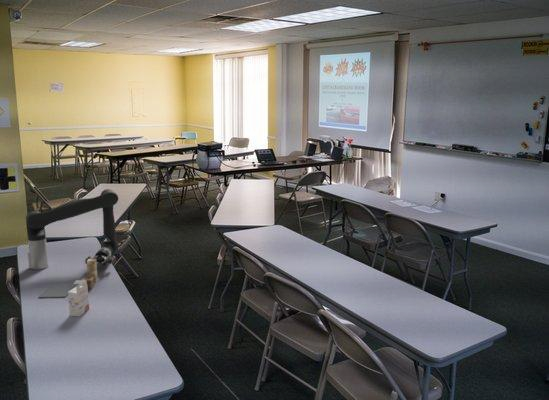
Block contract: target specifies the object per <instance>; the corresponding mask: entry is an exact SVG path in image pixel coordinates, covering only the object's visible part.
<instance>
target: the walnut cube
mask: <svg viewBox="0 0 549 400" xmlns="http://www.w3.org/2000/svg"><path fill="white" fill-rule="evenodd" d="M81 280H86V281H87V286H88V290H93V288H94V287H95V282H94V277H88V276H84V277H82V279H81Z"/></svg>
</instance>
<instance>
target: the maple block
mask: <svg viewBox="0 0 549 400" xmlns="http://www.w3.org/2000/svg"><path fill="white" fill-rule="evenodd" d="M97 265H98V263H97V261H96V259H88V260H87V264H86V271H87V272H86V273H87V277H94V283H97V281H99V280H98V279H99V278H98V277H99V276H98V266H97Z"/></svg>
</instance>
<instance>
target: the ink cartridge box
mask: <svg viewBox="0 0 549 400" xmlns="http://www.w3.org/2000/svg"><path fill="white" fill-rule="evenodd" d="M81 285H83V286H81ZM67 297H68V298H67V299H68V309H69V316H71V317H81V316H82V315H83V314H84V313H86V312H87V311H88V310H89V309H90V303H89V302H90V301H89V299H90V298H89V289H88V286H87V281H84V282H82V283H81V284H79V285H78V286H76V287H75V288H73V289H72V290H70V291H69V292H68V295H67Z"/></svg>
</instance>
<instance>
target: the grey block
mask: <svg viewBox="0 0 549 400" xmlns="http://www.w3.org/2000/svg"><path fill="white" fill-rule="evenodd" d="M84 281H86V280H82V279H76V280H75V281H74V282H73V284H72V286H73V288H75V287H76V286H78V285H79V284H81V283H82V282H84ZM81 286H83V285H81Z"/></svg>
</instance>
